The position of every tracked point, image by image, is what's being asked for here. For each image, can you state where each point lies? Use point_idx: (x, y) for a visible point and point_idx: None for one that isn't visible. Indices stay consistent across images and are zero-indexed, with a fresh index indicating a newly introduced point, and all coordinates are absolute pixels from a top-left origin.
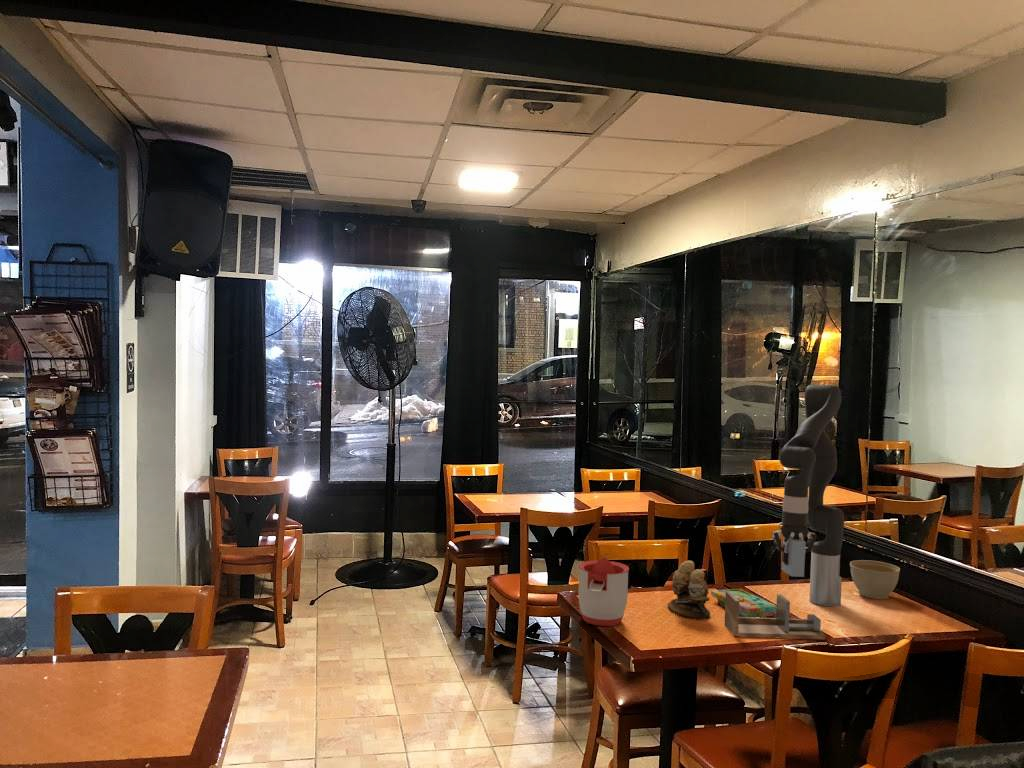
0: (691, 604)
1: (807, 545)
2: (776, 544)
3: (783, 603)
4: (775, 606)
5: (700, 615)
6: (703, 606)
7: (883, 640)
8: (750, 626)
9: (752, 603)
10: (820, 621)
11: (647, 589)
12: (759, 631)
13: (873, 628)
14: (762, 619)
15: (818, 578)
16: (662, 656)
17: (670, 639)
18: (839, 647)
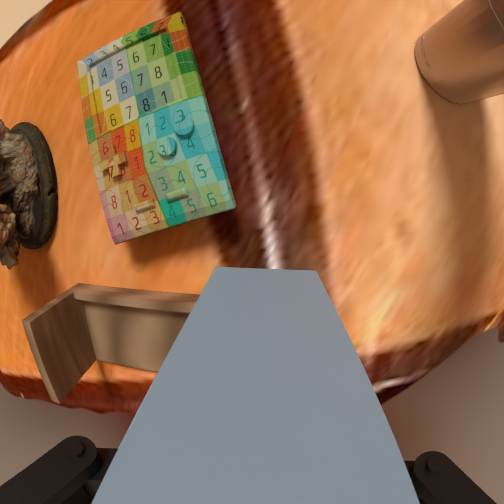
0: (38, 129)
1: (439, 500)
2: (51, 474)
3: None
4: (229, 207)
5: (32, 246)
6: (35, 195)
7: (432, 362)
8: (124, 325)
9: (142, 204)
10: None
11: (12, 43)
12: (140, 357)
13: (467, 287)
14: (155, 308)
15: (473, 57)
16: (23, 396)
17: (15, 347)
18: None
